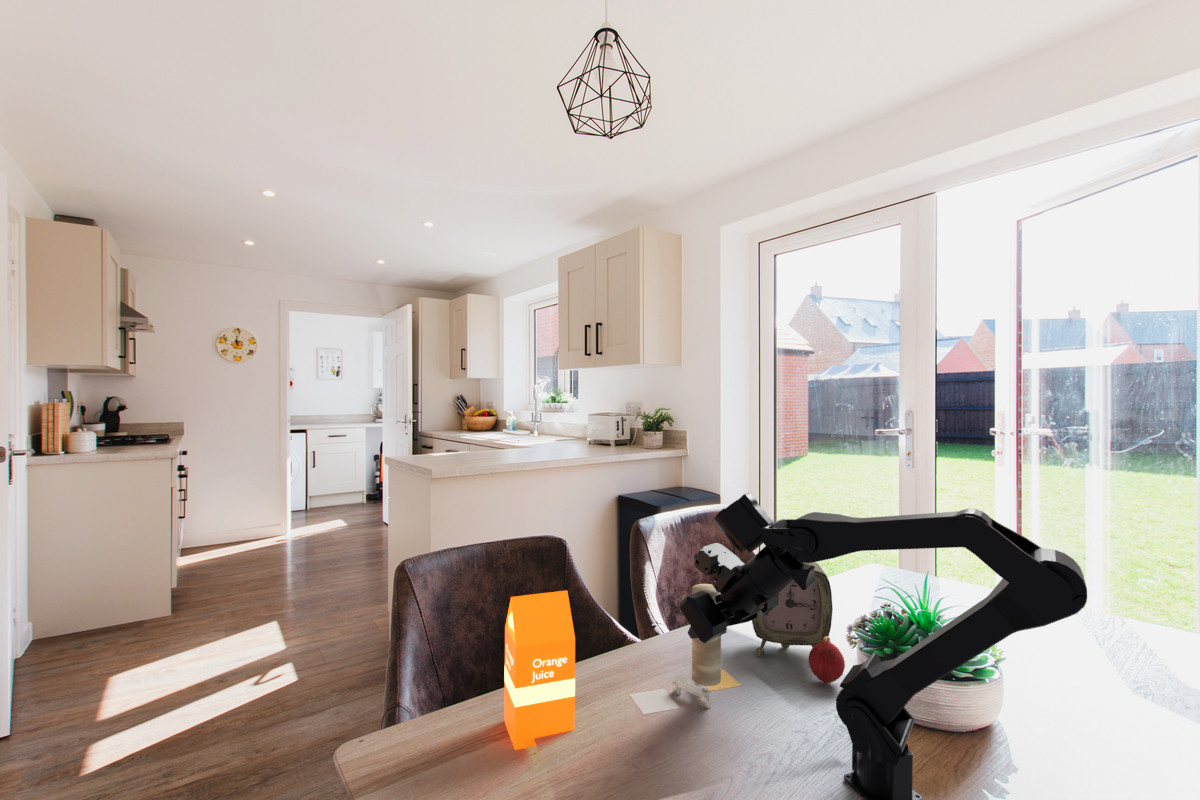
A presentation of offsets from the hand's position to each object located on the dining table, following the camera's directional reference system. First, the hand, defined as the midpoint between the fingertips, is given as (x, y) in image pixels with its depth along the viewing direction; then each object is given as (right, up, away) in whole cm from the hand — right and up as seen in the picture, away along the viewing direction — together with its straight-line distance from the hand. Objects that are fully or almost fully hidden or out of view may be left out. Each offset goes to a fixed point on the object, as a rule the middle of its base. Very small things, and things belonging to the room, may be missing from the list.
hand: (699, 631), depth 88 cm
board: (-1, -12, +2) cm, 13 cm away
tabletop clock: (+21, -13, +20) cm, 32 cm away
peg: (+1, -7, -1) cm, 7 cm away
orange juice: (-25, -12, -5) cm, 28 cm away
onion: (+23, -13, +9) cm, 28 cm away
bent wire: (0, -11, +2) cm, 12 cm away
